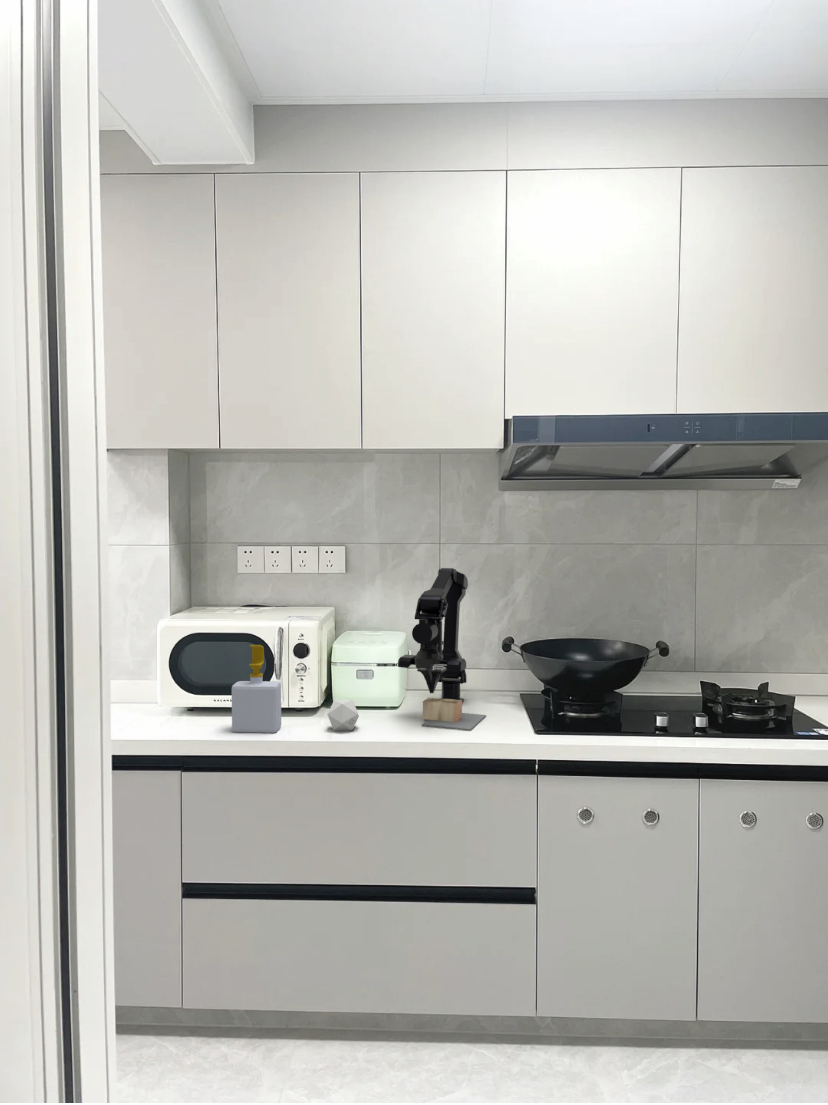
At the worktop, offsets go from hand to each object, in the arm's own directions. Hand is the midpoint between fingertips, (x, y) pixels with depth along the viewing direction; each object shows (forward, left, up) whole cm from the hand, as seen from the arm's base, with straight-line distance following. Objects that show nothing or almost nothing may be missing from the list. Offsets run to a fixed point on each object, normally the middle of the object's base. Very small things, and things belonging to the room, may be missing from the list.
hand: (431, 693), depth 234 cm
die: (+18, -19, -8) cm, 27 cm away
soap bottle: (+27, -41, -8) cm, 49 cm away
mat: (0, +7, -8) cm, 10 cm away
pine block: (0, -2, -4) cm, 5 cm away
